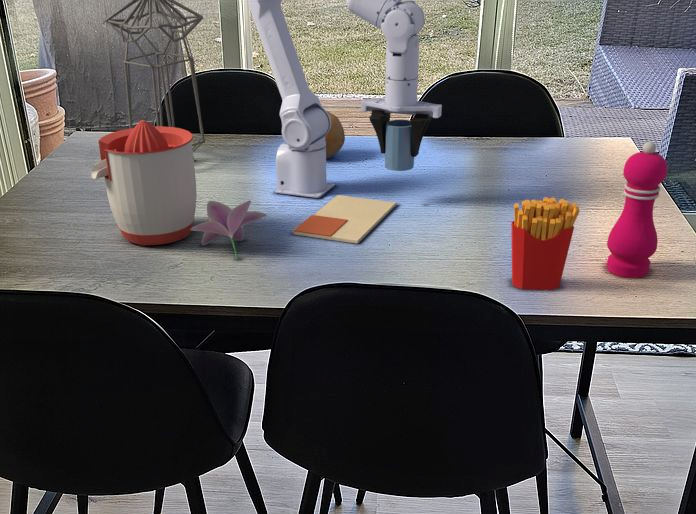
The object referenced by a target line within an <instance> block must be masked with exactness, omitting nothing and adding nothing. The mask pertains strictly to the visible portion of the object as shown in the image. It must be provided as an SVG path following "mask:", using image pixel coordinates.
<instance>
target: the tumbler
mask: <svg viewBox="0 0 696 514" xmlns="http://www.w3.org/2000/svg"><path fill="white" fill-rule="evenodd" d="M411 150H412V126H411V119H392V120H391V119H390V121H388V122H386V138H385V154H384V167H385V169H387V170H388V171H394V172H405V171H410V170H412V169H414V167H415V157H412V154H411Z"/></svg>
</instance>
